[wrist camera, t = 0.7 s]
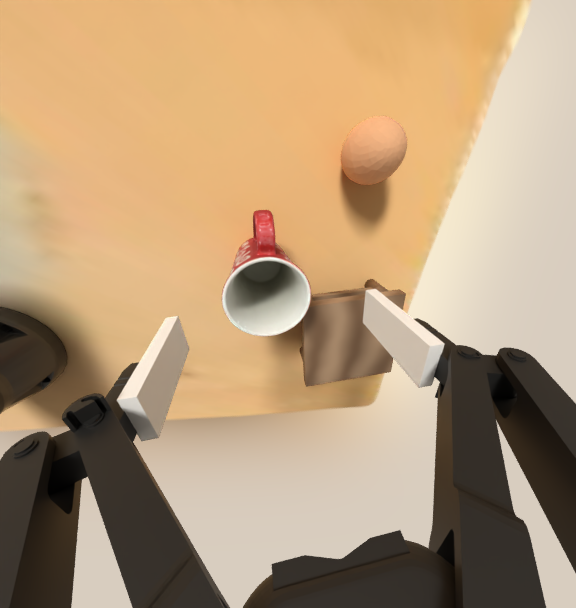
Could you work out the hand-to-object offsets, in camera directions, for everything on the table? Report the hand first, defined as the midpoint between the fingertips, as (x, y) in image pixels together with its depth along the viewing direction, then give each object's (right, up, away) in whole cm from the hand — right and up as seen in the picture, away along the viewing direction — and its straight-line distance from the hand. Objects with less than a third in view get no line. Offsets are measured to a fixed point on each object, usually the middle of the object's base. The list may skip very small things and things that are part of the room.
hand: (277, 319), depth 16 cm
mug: (-3, +9, +18) cm, 21 cm away
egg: (+10, +21, +15) cm, 27 cm away
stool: (+9, -2, +26) cm, 27 cm away
